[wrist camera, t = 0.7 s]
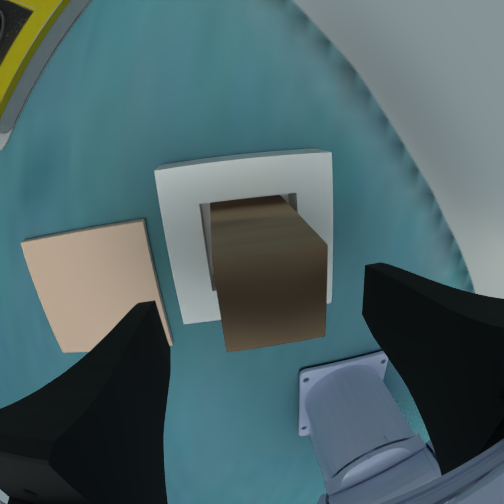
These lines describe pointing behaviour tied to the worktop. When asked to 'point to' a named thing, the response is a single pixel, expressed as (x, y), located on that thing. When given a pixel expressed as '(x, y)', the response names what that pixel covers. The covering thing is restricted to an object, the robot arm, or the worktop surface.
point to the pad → (93, 280)
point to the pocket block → (231, 188)
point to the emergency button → (29, 49)
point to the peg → (267, 273)
